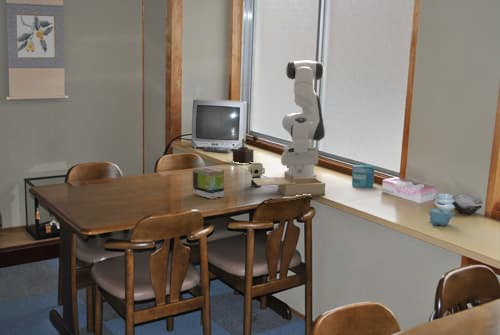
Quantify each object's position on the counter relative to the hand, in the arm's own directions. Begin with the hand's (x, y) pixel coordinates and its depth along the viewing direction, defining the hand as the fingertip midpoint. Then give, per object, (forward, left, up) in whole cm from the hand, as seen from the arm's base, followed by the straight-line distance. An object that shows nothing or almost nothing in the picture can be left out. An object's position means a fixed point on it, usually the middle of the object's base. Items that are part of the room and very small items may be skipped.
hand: (299, 172), depth 352 cm
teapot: (+72, +47, -11) cm, 86 cm away
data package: (-7, +40, -11) cm, 42 cm away
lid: (+1, -15, -4) cm, 15 cm away
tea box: (-1, -50, -11) cm, 51 cm away
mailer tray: (+1, +1, -11) cm, 11 cm away
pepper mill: (-87, -12, -11) cm, 89 cm away
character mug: (-18, -20, -11) cm, 29 cm away
